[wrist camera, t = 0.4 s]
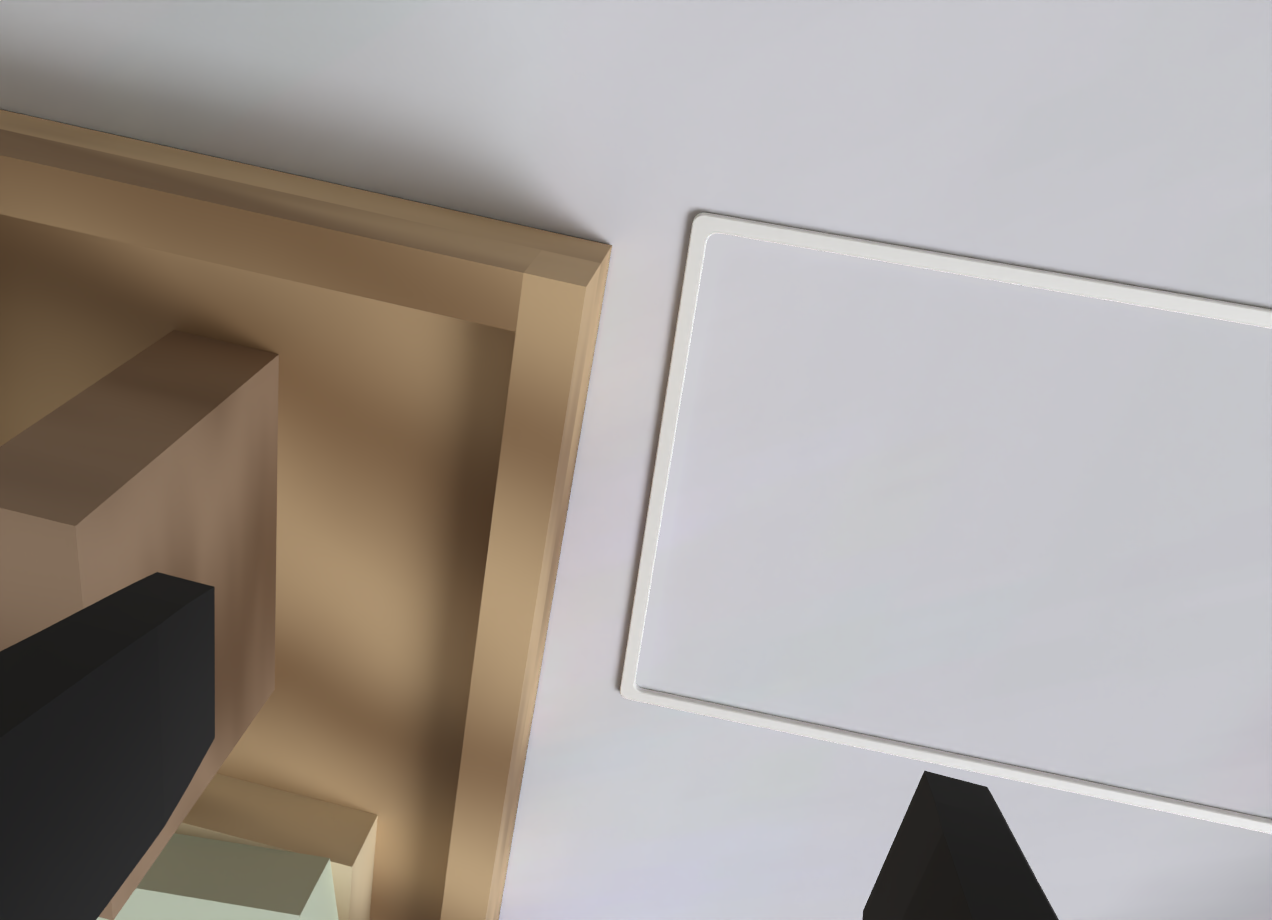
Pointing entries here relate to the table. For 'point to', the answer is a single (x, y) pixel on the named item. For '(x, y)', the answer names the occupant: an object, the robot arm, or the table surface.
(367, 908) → the offcut
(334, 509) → the tray
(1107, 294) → the white rimmed panel
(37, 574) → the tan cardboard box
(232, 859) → the offcut
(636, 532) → the table surface
